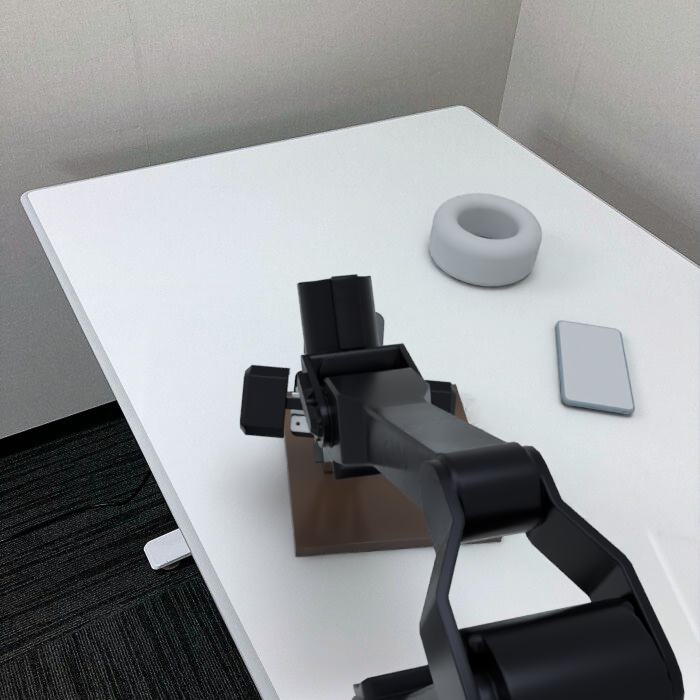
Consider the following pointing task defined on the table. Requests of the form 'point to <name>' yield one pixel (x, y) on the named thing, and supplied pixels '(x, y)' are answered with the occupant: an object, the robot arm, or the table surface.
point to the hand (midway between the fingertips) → (346, 405)
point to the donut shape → (485, 239)
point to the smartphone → (593, 367)
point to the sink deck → (349, 505)
